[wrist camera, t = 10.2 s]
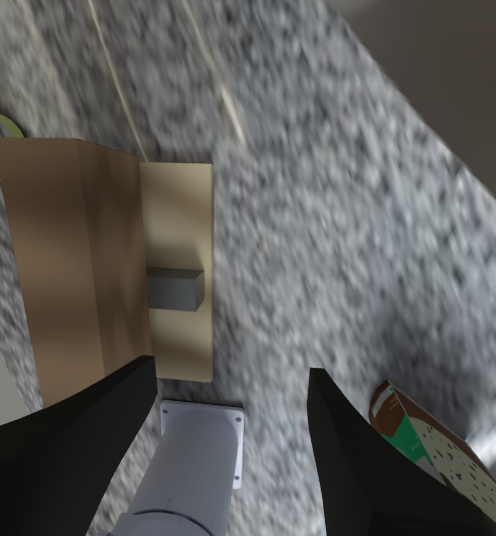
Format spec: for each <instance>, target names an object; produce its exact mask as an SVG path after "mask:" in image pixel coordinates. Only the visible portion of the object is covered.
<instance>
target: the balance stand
mask: <svg viewBox="0 0 496 536" xmlns="http://www.w3.org/2000/svg"><path fill="white" fill-rule="evenodd" d="M139 164H140V179H141V195H142V211H143V227H144V242H145V258H146V274H147V290H148V306H149V321H150V337H151V353H152V356H155V365H156V377H157V378H167V379H177V380H188V381H198V382H208V383H211V381H212V378H213V327H214V165H212V164H195V163H158V162H139Z"/></svg>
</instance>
